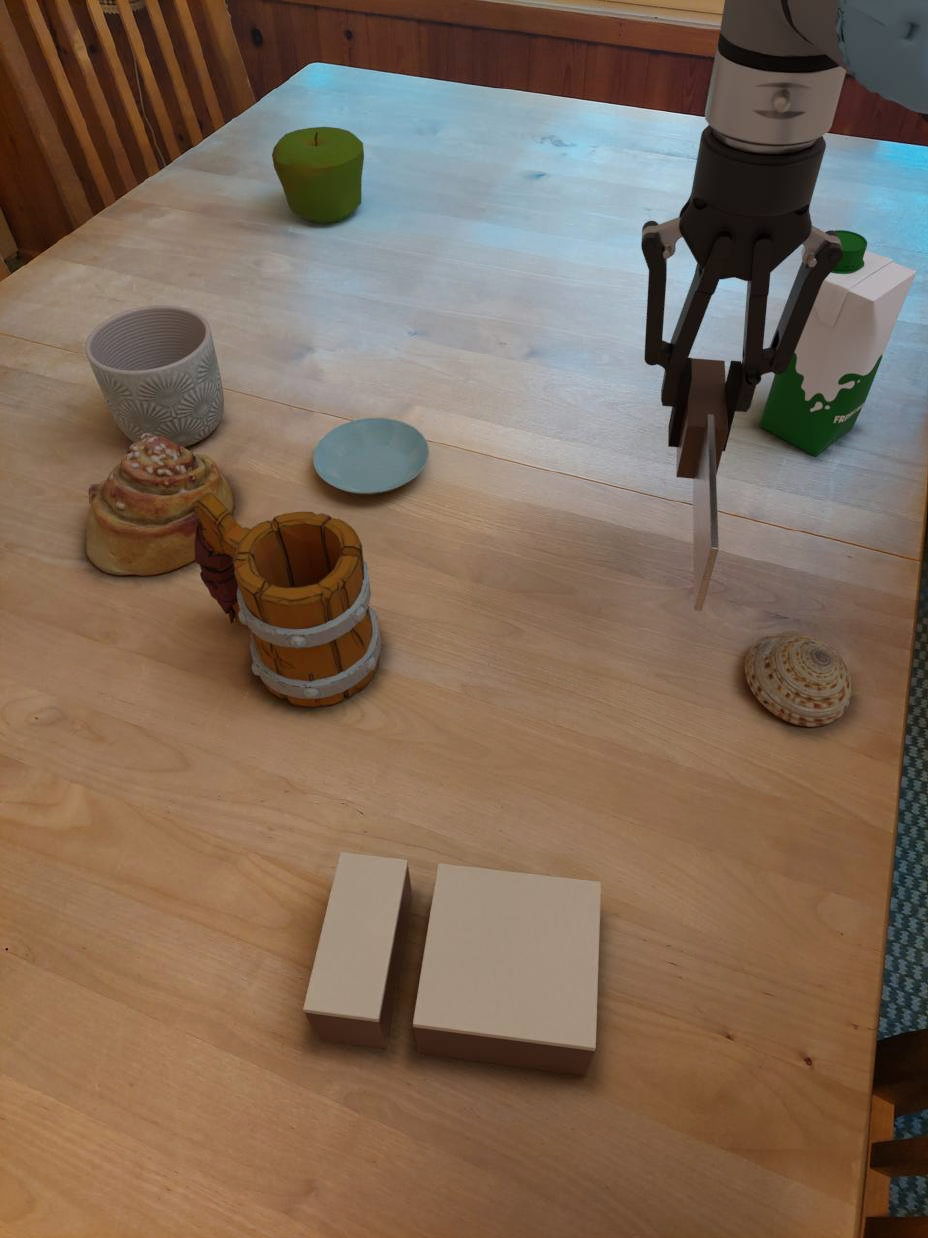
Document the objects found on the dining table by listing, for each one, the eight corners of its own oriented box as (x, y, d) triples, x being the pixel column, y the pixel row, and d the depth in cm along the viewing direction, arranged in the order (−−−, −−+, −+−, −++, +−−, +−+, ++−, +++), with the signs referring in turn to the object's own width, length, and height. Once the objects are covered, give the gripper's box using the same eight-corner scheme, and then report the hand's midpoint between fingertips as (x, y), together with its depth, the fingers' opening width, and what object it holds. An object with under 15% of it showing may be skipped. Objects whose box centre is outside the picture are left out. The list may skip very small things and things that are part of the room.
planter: (207, 468, 94) (180, 378, 85) (97, 454, 95) (61, 365, 87) (249, 398, 102) (228, 310, 93) (147, 386, 103) (118, 299, 95)
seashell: (785, 608, 77) (870, 637, 71) (790, 662, 80) (872, 694, 73) (719, 654, 74) (802, 689, 67) (726, 708, 76) (806, 746, 70)
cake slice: (386, 1049, 56) (378, 1019, 52) (316, 1040, 57) (302, 1009, 52) (413, 897, 63) (407, 859, 58) (350, 890, 63) (339, 851, 59)
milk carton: (793, 393, 101) (848, 215, 85) (865, 429, 96) (937, 249, 81) (746, 426, 97) (795, 247, 82) (819, 465, 92) (885, 283, 77)
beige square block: (586, 1076, 55) (595, 1048, 51) (418, 1053, 56) (412, 1024, 52) (592, 919, 62) (601, 881, 57) (441, 901, 63) (438, 863, 58)
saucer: (379, 525, 88) (376, 507, 86) (292, 478, 92) (288, 460, 91) (452, 462, 94) (452, 444, 92) (367, 421, 98) (365, 403, 97)
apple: (369, 192, 135) (361, 110, 126) (369, 230, 127) (360, 146, 119) (286, 195, 135) (272, 114, 126) (280, 234, 127) (265, 150, 118)
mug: (340, 732, 72) (313, 608, 61) (182, 655, 77) (130, 528, 66) (410, 640, 78) (397, 512, 67) (259, 575, 84) (223, 446, 72)
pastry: (245, 473, 93) (229, 409, 87) (213, 578, 83) (192, 514, 77) (119, 471, 94) (94, 407, 87) (73, 576, 84) (41, 512, 78)
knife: (676, 408, 76) (689, 344, 72) (712, 411, 76) (727, 346, 71) (674, 610, 61) (690, 546, 57) (719, 615, 61) (739, 550, 56)
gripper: (630, 148, 53) (593, 459, 71) (912, 161, 52) (802, 477, 69) (634, 100, 58) (599, 403, 76) (892, 111, 56) (794, 418, 74)
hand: (696, 437), depth 73 cm, fingers closed on knife, 3 cm apart
